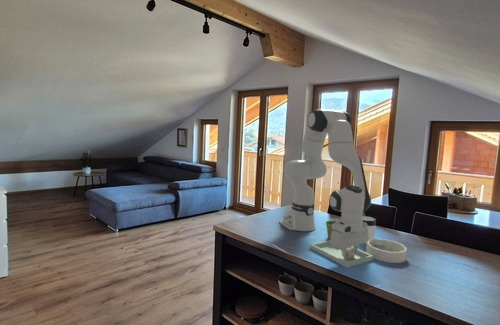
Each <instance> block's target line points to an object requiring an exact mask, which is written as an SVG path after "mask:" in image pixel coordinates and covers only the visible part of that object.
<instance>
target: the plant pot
mask: <svg viewBox="0 0 500 325" xmlns="http://www.w3.org/2000/svg"><path fill="white" fill-rule="evenodd" d="M337 221H338V220H337ZM337 221H336V220H327V221H325V225H326V230H327V239H328V240H331V233H332V231H333V230H334V229H332V224H333V223H335V222H337Z"/></svg>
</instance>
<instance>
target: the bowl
mask: <svg viewBox="0 0 500 325" xmlns="http://www.w3.org/2000/svg"><path fill="white" fill-rule="evenodd" d="M375 242H380V243H383V244H385V250H380V249H378V248H375V247H374V245H375ZM365 249H366V250H365V252H366V253H368V254H371V255H373V259H375V260H378V261H380V262H384V263H391V264H392V263H393V264H401V263H403V262H406V261H407V249H408V248H407V247H406V246H405V245H404V244H402V243H400V242H397V241H395V240H391V239H385V238H375V239H371V240H368V242H367V244H366V247H365Z"/></svg>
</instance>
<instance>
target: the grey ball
mask: <svg viewBox="0 0 500 325" xmlns="http://www.w3.org/2000/svg"><path fill="white" fill-rule="evenodd" d="M374 247H375V248H378V249H380V250H385V244H383V243H380V242H375V245H374Z"/></svg>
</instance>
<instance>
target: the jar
mask: <svg viewBox="0 0 500 325" xmlns="http://www.w3.org/2000/svg"><path fill="white" fill-rule="evenodd" d="M363 222H366V223H367V225H368V226H367V228H368V232H369V239H368V240H371V239H376V229H377V227H376V225H377V219H376V218H374V217H371V216H366V215H365V216H363ZM363 244H364V245H367V243H363ZM363 244H362V245H363Z"/></svg>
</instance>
